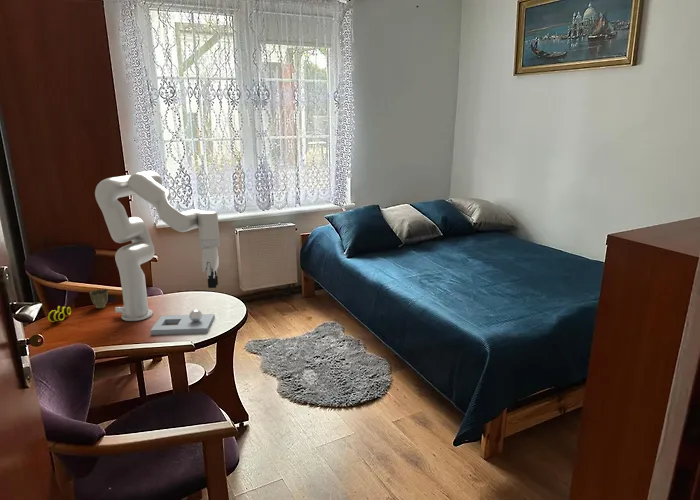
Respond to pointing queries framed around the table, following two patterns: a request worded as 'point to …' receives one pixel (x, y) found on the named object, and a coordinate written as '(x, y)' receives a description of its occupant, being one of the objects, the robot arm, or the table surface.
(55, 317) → the yellow looped piece
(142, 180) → the robot arm
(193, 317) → the steel ball
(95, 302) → the cup
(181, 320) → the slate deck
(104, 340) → the table surface
